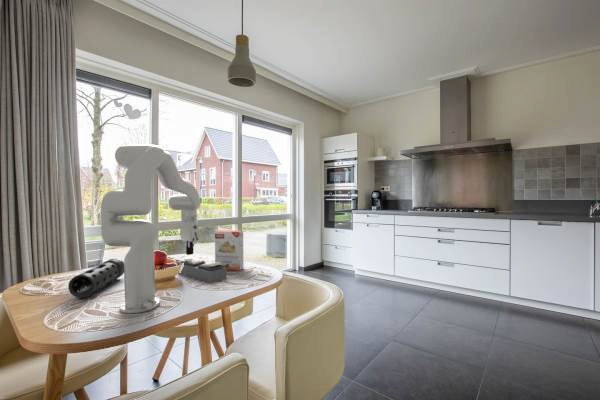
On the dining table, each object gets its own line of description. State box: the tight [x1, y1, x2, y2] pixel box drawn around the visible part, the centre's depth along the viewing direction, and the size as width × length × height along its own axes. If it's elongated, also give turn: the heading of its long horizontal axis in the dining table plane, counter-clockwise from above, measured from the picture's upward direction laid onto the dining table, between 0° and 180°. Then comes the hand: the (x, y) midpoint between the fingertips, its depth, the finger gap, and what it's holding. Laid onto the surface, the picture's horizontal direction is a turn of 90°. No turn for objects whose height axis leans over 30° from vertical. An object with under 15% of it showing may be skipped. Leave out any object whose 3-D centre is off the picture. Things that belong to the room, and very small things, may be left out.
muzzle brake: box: [68, 258, 124, 300], centre depth 122 cm, size 10×28×10 cm, turn 9°
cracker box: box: [214, 229, 244, 272], centre depth 151 cm, size 14×6×21 cm, turn 81°
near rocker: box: [201, 261, 220, 268], centre depth 136 cm, size 8×5×2 cm, turn 55°
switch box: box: [179, 260, 227, 284], centre depth 140 cm, size 26×9×6 cm, turn 55°
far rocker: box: [183, 256, 203, 264], centre depth 144 cm, size 8×5×2 cm, turn 55°
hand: (189, 254), depth 145 cm, fingers closed
